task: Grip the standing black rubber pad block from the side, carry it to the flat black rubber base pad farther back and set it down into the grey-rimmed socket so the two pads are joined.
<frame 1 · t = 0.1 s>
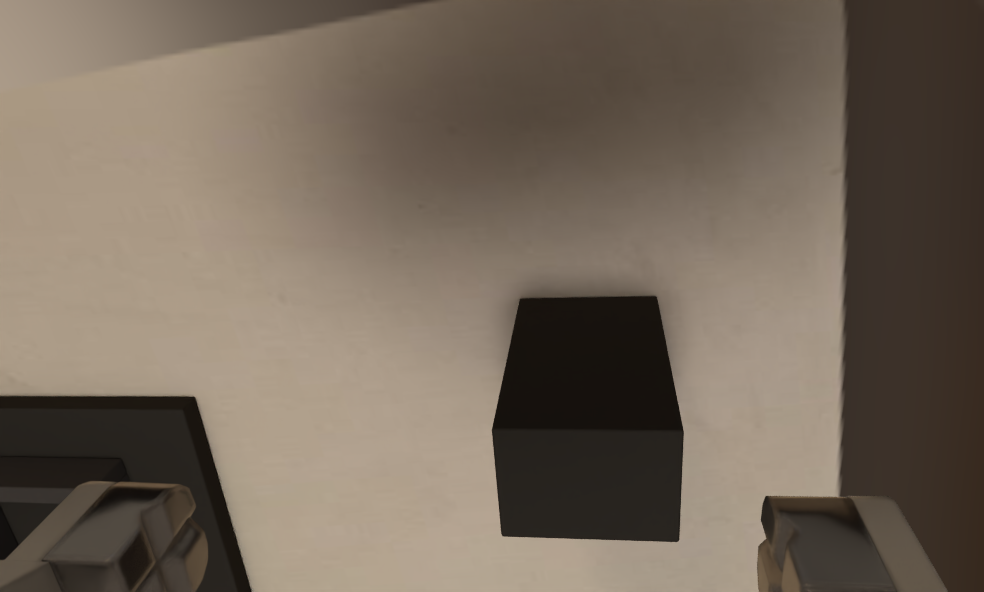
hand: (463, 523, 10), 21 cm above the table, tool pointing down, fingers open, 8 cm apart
pad block: (588, 341, 32), on the table
base pad: (78, 500, 41), on the table
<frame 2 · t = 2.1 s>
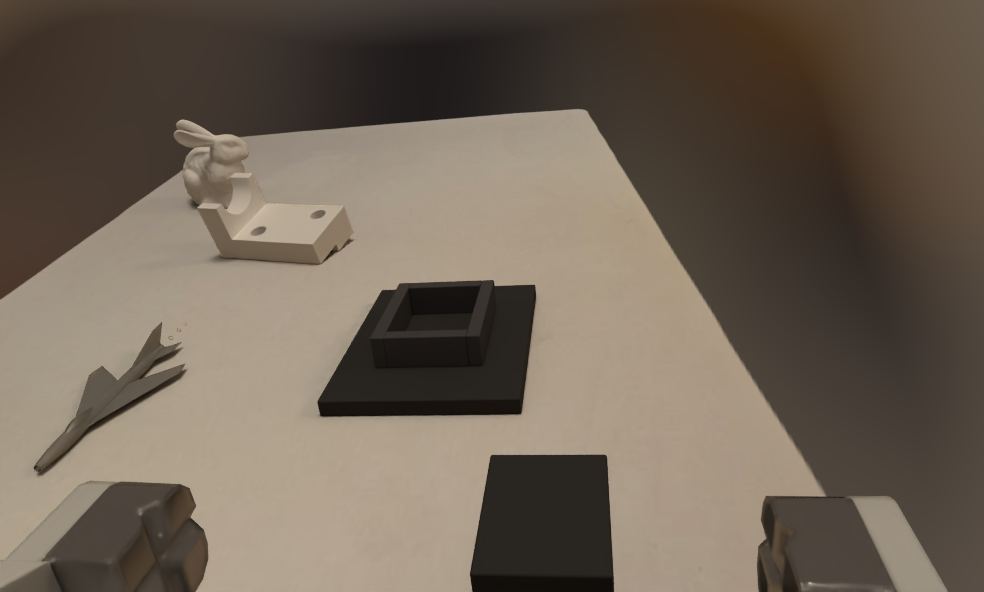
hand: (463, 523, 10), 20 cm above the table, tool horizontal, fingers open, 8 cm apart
base pad: (441, 348, 57), on the table
toy airplane: (127, 390, 55), on the table
bracket: (285, 252, 80), on the table
rabbit: (224, 204, 100), on the table
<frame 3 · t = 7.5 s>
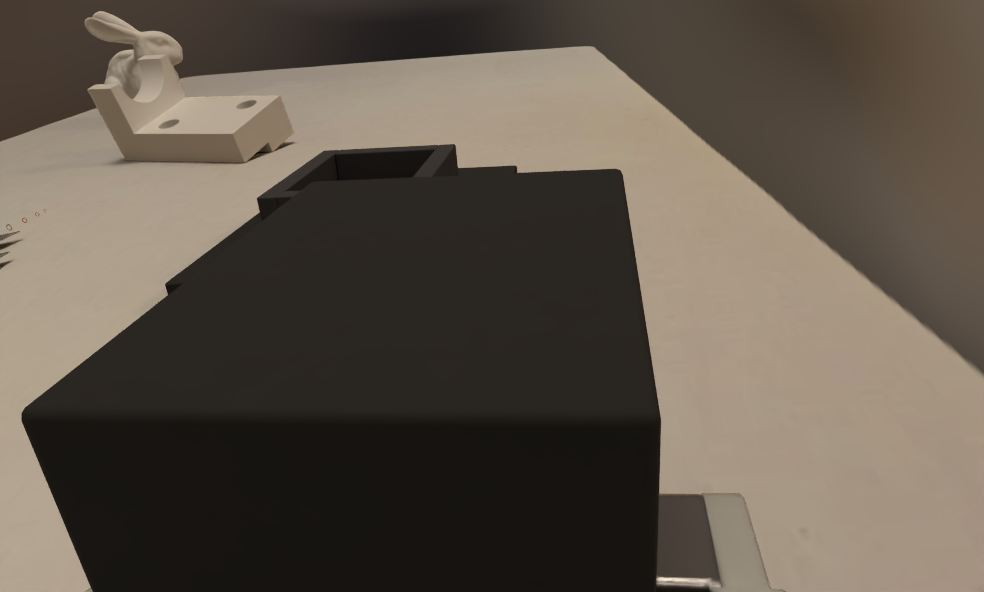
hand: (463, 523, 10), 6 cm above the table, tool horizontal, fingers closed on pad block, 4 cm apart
base pad: (375, 234, 39), on the table
bracket: (205, 156, 63), on the table
rabbit: (154, 121, 83), on the table
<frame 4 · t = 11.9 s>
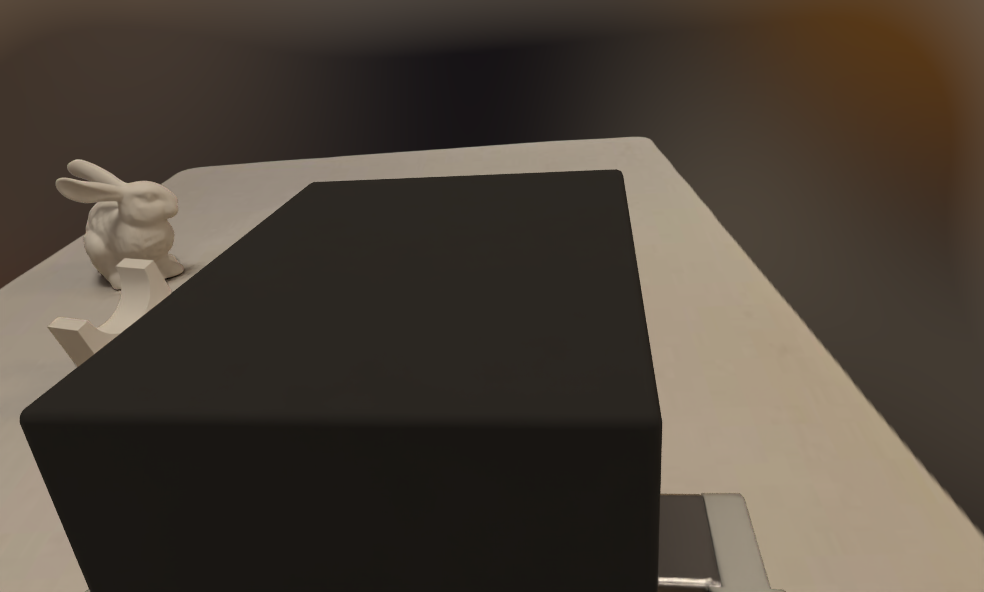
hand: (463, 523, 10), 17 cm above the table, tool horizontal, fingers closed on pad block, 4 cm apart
bracket: (205, 392, 48), on the table
rabbit: (145, 279, 69), on the table
when the fingers open (7 cm above the table, at t = 16.3 s): pad block stays where it is, resting on base pad.
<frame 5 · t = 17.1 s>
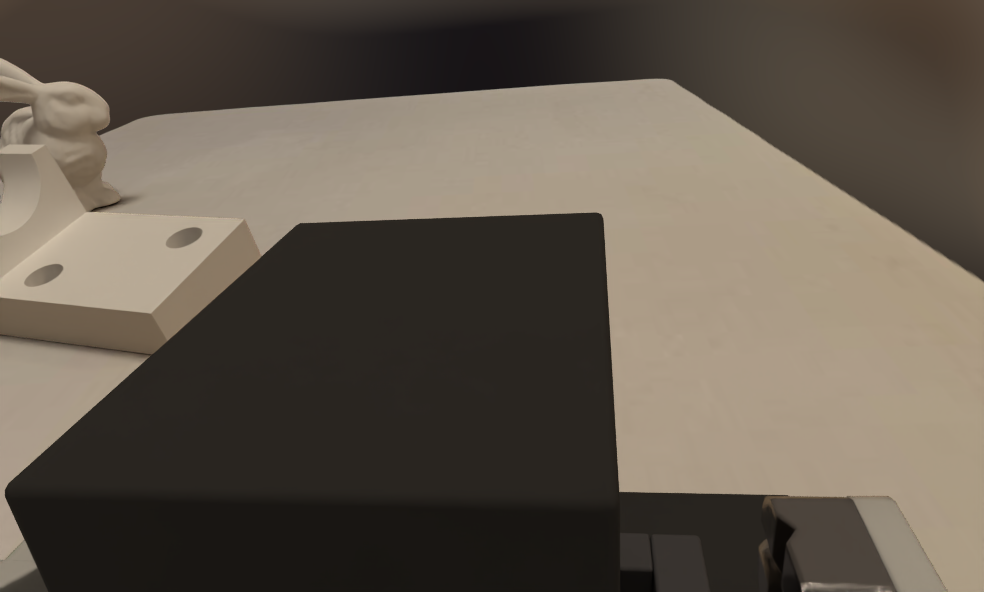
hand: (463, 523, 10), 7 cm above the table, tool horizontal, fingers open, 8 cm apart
bracket: (115, 322, 36), on the table
rabbit: (73, 210, 56), on the table
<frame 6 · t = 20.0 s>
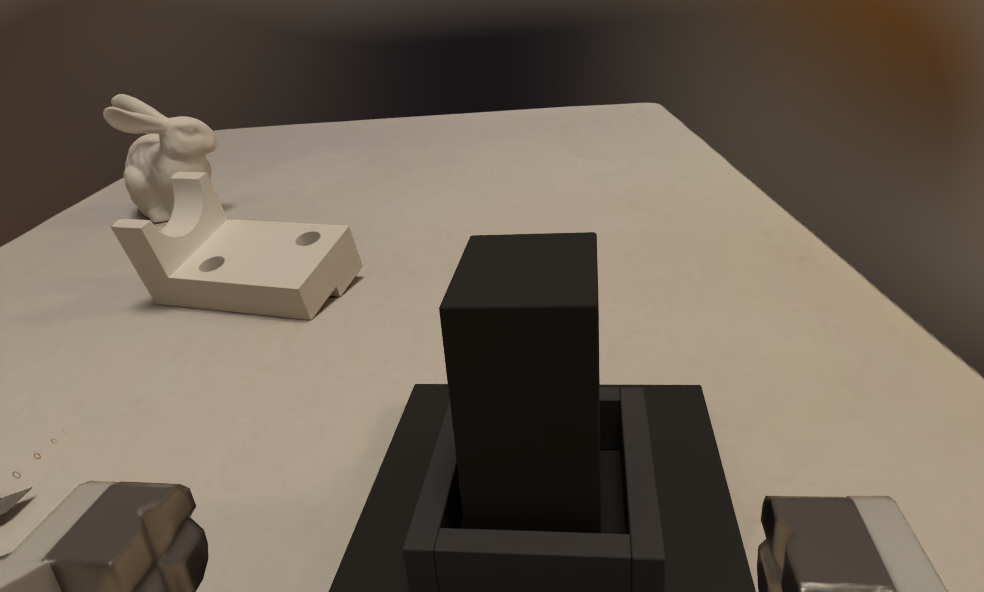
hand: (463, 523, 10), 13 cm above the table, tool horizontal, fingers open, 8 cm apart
pad block: (539, 511, 27), point 1 cm above the table, touching base pad
base pad: (544, 534, 27), on the table
bracket: (255, 297, 51), on the table
rabbit: (181, 215, 71), on the table
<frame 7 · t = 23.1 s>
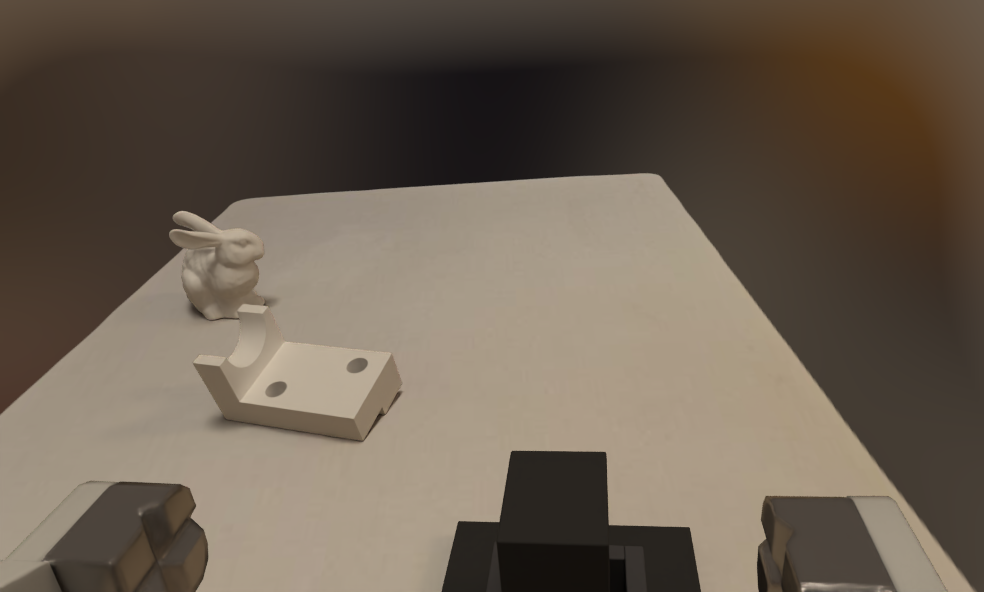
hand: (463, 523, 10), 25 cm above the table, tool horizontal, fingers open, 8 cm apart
bracket: (311, 413, 60), on the table
rabbit: (232, 310, 80), on the table
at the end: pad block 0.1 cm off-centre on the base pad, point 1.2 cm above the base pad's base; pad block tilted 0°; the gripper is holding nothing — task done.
